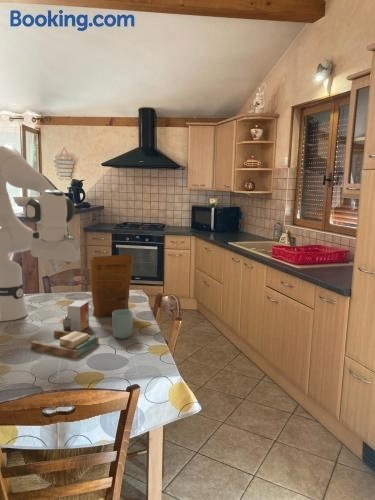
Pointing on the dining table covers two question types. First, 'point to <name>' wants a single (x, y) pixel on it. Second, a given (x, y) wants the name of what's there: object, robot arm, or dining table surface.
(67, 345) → the tan tapered block
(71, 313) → the small box
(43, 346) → the bay
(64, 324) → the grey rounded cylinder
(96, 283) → the pancake mix bag
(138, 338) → the dining table surface
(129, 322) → the cup
